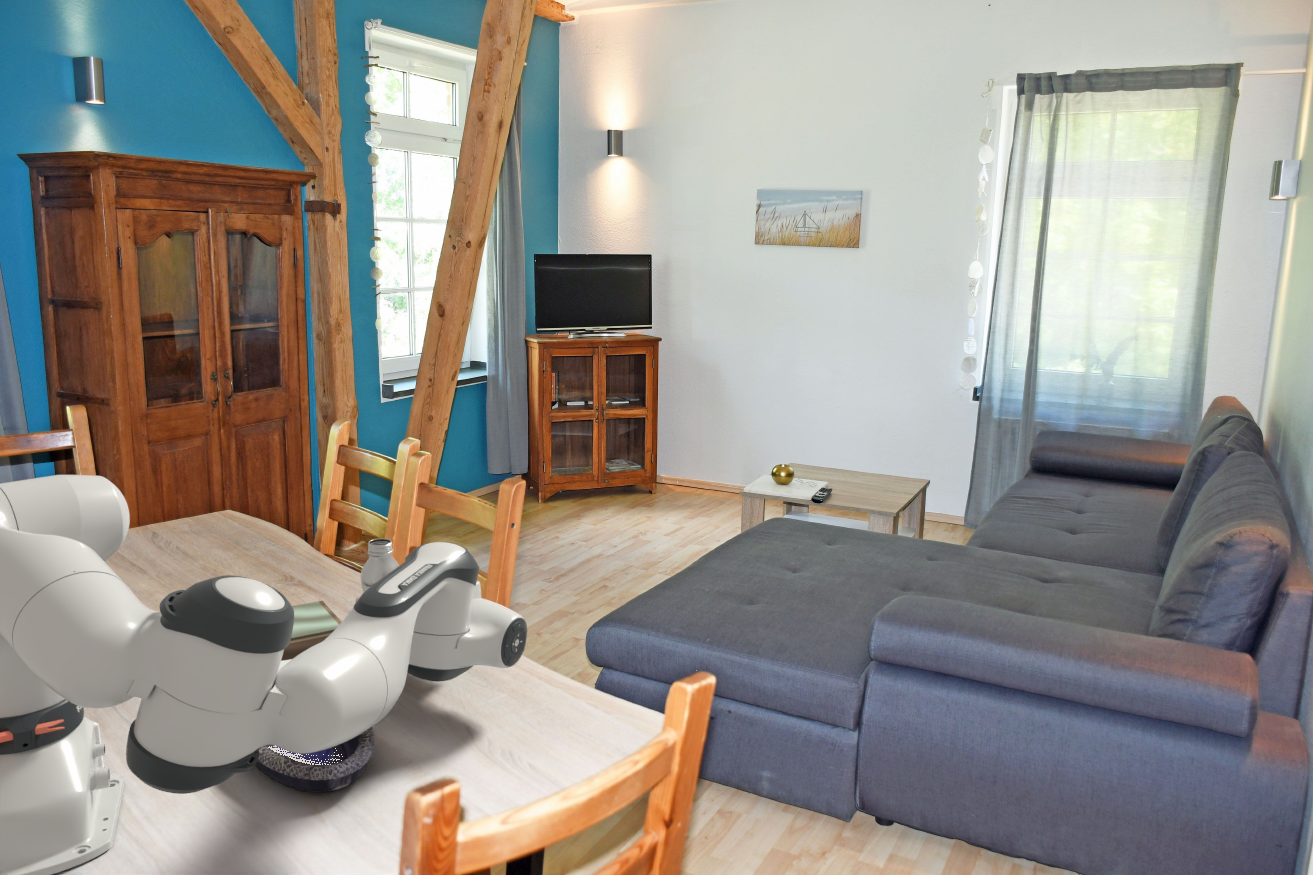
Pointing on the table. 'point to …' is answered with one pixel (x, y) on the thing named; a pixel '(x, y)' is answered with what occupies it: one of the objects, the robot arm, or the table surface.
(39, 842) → the robot arm
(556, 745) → the table surface
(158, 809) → the table surface
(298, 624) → the walnut stand
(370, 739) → the dish
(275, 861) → the table surface
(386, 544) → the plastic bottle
